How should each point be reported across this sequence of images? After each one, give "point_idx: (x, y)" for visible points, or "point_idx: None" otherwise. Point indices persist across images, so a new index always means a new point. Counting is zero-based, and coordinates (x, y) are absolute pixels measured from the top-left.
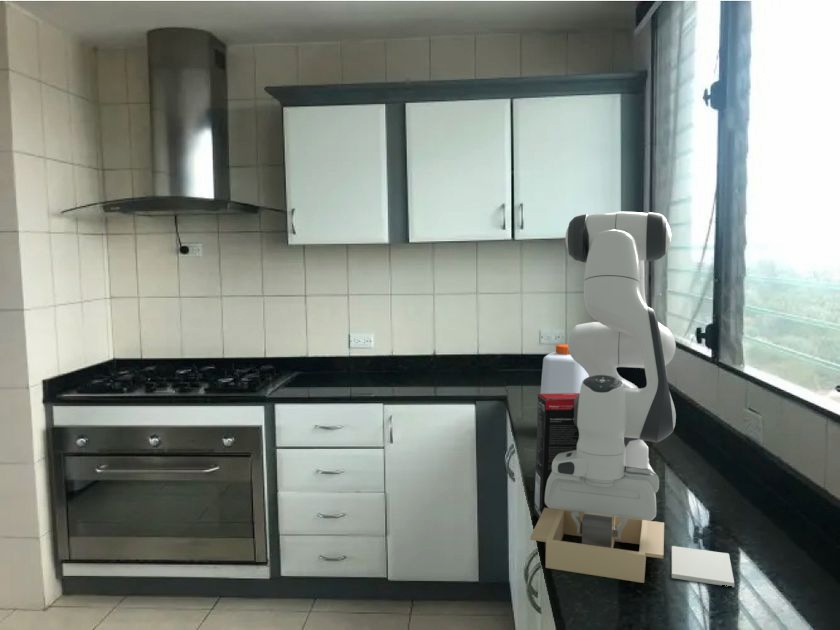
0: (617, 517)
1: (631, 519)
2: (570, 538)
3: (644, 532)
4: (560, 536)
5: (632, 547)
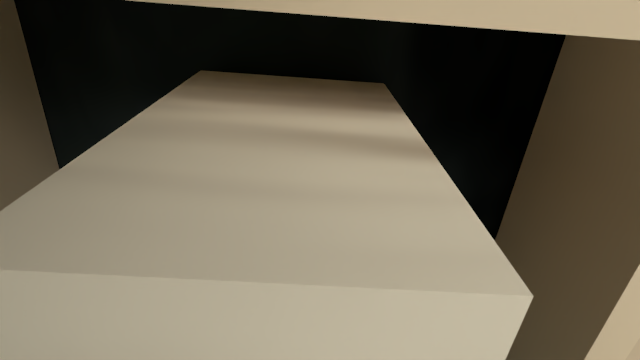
0: (466, 25)
1: (629, 38)
2: (82, 48)
3: (627, 329)
4: (22, 167)
5: (492, 85)
